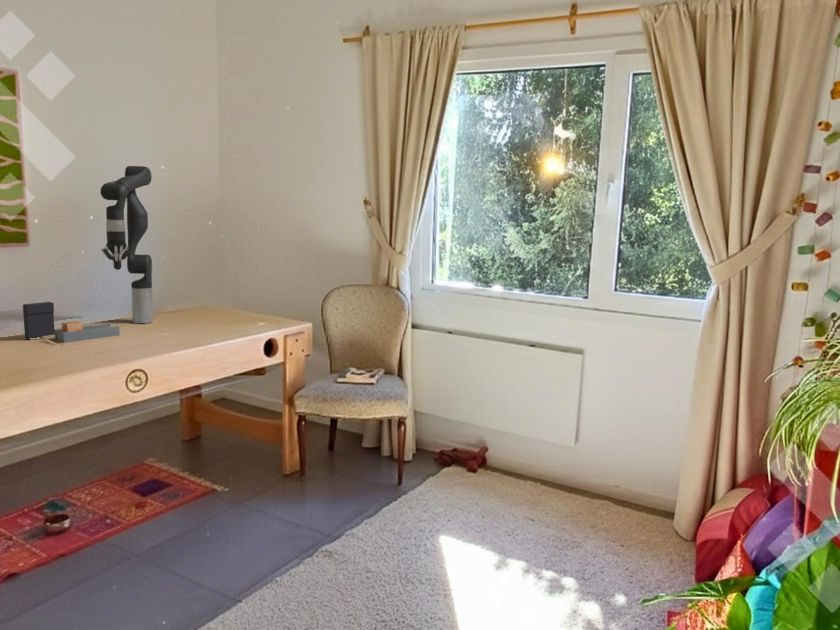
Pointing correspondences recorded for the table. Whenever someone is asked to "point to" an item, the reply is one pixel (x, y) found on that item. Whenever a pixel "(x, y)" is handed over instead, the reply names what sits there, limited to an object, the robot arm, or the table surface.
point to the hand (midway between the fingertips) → (117, 269)
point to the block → (72, 326)
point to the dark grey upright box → (38, 319)
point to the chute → (87, 333)
